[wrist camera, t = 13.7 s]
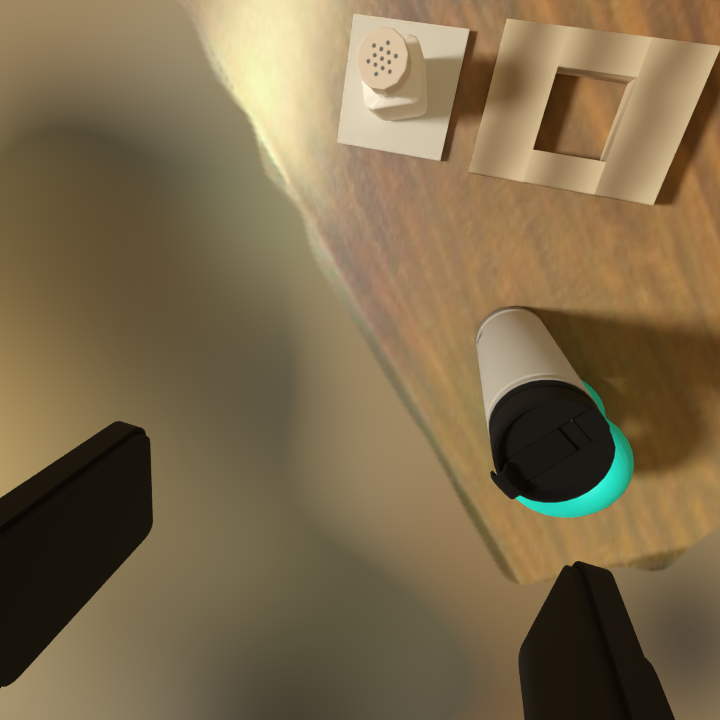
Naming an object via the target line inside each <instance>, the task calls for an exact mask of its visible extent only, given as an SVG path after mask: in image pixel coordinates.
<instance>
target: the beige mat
mask: <svg viewBox="0 0 720 720" xmlns="http://www.w3.org/2000/svg"><path fill="white" fill-rule="evenodd" d="M379 27H386V28H394V29H395V30H396V31H397V32H398V33H399V34H400V35H406V34H411V35H414V36H416V37H417V38H418V40H419V43H420V46H421V49H422V53H423V56H424V60H425V63H426V79H427V110H426V113H424V114H423V115H421V116H417V117H410V118H404V119H397V120H391V121H384V120H380V119H379V118H378V117H377V116H376V115H375V114H373V113H372V112H371V111H370V110H369V109H368V108H367V106H366V104H365V102H364V94H363V85H362V79H361V77H360V74H359V71H358V67H357V64H356V63H357V55H358V47H359V46H360V44H361V43H362V41H363V39H364V38H365V36H366V35H367V34H368V33H369V32H371V31H373V30H375V29H377V28H379ZM468 36H469V29H463V28H456V27H448V26H441V25H433V24H426V23H418V22H411V21H403V20H396V19H389V18H381V17H374V16H366V15H359V14H354V16H353V24H352V32H351V39H350V47H349V55H348V62H347V70H346V78H345V85H344V93H343V101H342V108H341V116H340V124H339V131H338V139H337V143H341V144H347V145H353V146H358V147H364V148H369V149H375V150H381V151H386V152H392V153H398V154H403V155H409V156H414V157H420V158H426V159H431V160H437V161H441V156H442V152H443V147H444V143H445V138H446V134H447V130H448V125H449V121H450V116H451V112H452V107H453V103H454V98H455V94H456V89H457V85H458V80H459V76H460V71H461V67H462V63H463V58H464V54H465V49H466V45H467V40H468Z"/></svg>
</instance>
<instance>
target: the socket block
mask: <svg viewBox="0 0 720 720" xmlns="http://www.w3.org/2000/svg"><path fill="white" fill-rule="evenodd" d="M719 50H720V46H715V45H708V44H700V43H692V42H684V41H677V40H669V39H661V38H653V37H646V36H638V35H630V34H622V33H615V32H607V31H599V30H591V29H583V28H576V27H568V26H560V25H552V24H545V23H537V22H529V21H521V20H514V19H507V21H506V25H505V28H504V32H503V36H502V40H501V44H500V48H499V52H498V56H497V60H496V64H495V68H494V72H493V76H492V80H491V84H490V88H489V92H488V96H487V100H486V104H485V108H484V112H483V116H482V120H481V124H480V128H479V132H478V136H477V140H476V144H475V148H474V152H473V156H472V160H471V164H470V168H469V172H468V173H472V174H478V175H483V176H489V177H494V178H500V179H505V180H511V181H517V182H522V183H528V184H533V185H539V186H544V187H550V188H555V189H561V190H567V191H572V192H578V193H583V194H589V195H594V196H600V197H605V198H611V199H617V200H622V201H628V202H633V203H639V204H646V205H653V204H654V202H655V200H656V197H657V195H658V193H659V190H660V188H661V186H662V183H663V181H664V179H665V176H666V174H667V172H668V169H669V167H670V165H671V162H672V160H673V158H674V155H675V153H676V151H677V148H678V146H679V144H680V141H681V139H682V137H683V134H684V132H685V130H686V127H687V125H688V123H689V120H690V118H691V116H692V113H693V111H694V109H695V106H696V104H697V102H698V99H699V97H700V95H701V92H702V90H703V88H704V85H705V83H706V81H707V78H708V76H709V74H710V71H711V69H712V67H713V64H714V62H715V60H716V57H717V55H718V53H719ZM555 74H563V75H570V76H577V77H583V78H590V79H597V80H604V81H611V82H618V83H625V84H627V86H626V89H625V92H624V95H623V97H622V100H621V103H620V106H619V108H618V111H617V114H616V117H615V119H614V122H613V125H612V128H611V130H610V133H609V136H608V139H607V141H606V144H605V147H604V150H603V152H602V155H601V158H600V161H598V160H592V159H586V158H580V157H574V156H568V155H562V154H556V153H550V152H544V151H538V150H533V147H534V144H535V141H536V137H537V134H538V131H539V127H540V124H541V121H542V117H543V114H544V111H545V108H546V104H547V101H548V98H549V94H550V91H551V88H552V84H553V81H554V78H555Z"/></svg>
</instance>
